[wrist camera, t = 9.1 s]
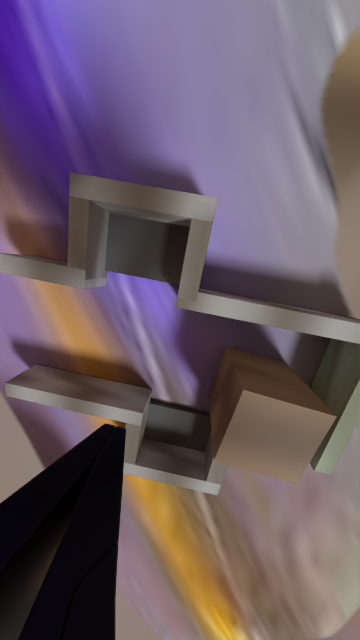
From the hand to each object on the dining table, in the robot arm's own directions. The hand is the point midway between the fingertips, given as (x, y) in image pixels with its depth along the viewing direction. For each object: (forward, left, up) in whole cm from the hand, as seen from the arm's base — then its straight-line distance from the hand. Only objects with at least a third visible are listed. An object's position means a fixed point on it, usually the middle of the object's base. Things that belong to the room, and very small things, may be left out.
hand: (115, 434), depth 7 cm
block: (-2, -8, -9) cm, 12 cm away
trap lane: (0, -2, -9) cm, 9 cm away
